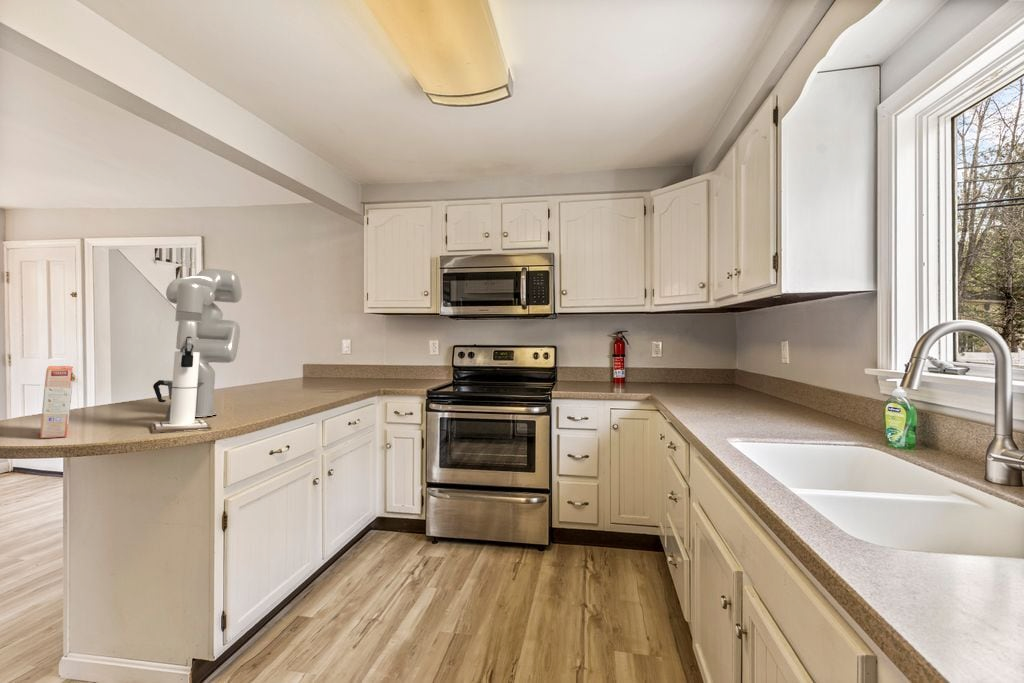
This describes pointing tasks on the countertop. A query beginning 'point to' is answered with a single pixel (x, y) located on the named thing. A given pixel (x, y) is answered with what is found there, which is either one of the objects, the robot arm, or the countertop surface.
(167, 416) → the coffeepot
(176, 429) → the notepad
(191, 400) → the cylindrical container
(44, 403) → the cracker box
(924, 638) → the countertop surface
